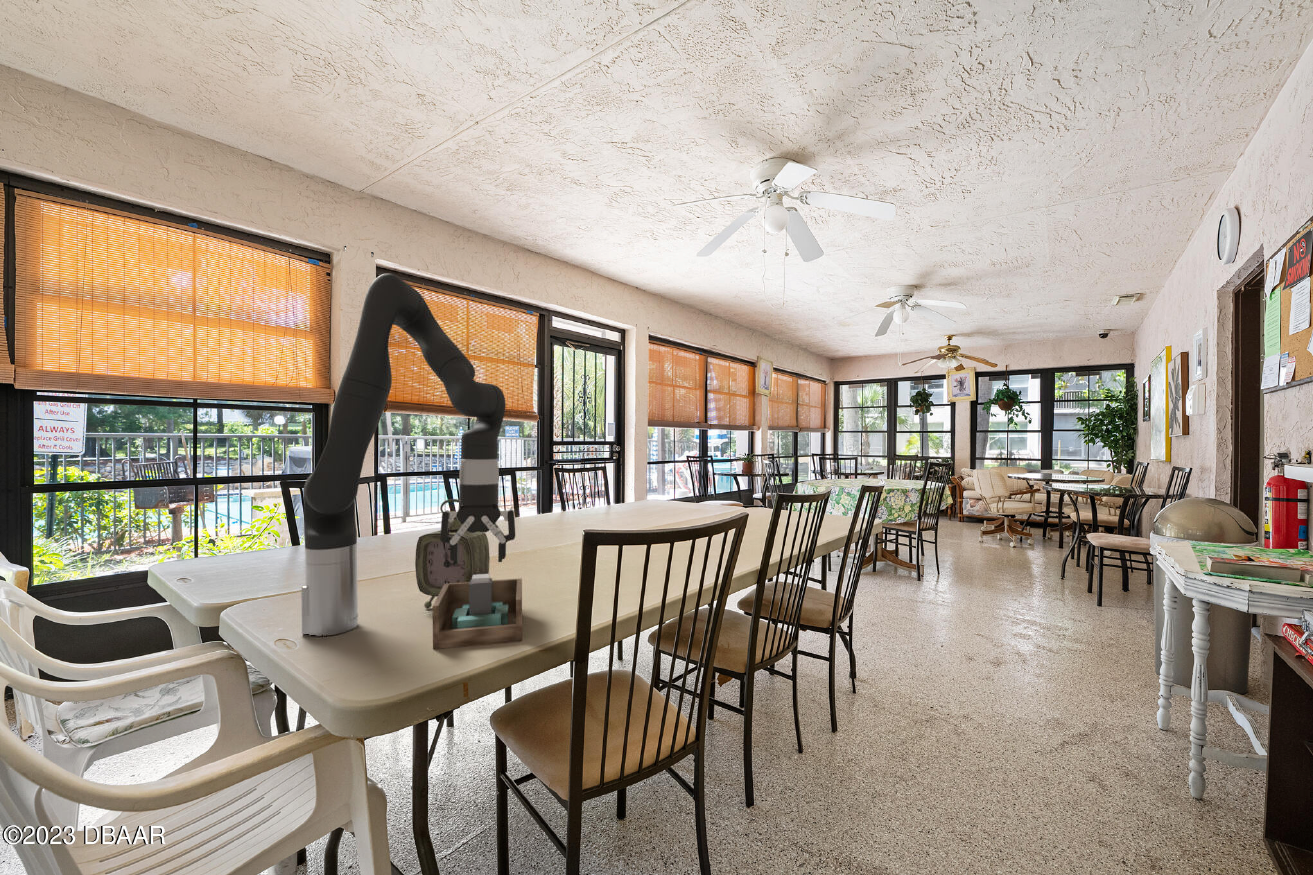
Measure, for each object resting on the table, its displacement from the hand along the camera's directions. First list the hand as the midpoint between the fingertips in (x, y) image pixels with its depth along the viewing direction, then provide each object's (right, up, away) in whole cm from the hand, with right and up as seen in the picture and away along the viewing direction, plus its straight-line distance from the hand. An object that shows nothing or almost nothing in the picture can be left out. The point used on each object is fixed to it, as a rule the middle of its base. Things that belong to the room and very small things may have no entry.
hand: (478, 562), depth 111 cm
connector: (0, -13, +1) cm, 13 cm away
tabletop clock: (-11, -14, +17) cm, 24 cm away
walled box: (0, -14, +1) cm, 14 cm away
